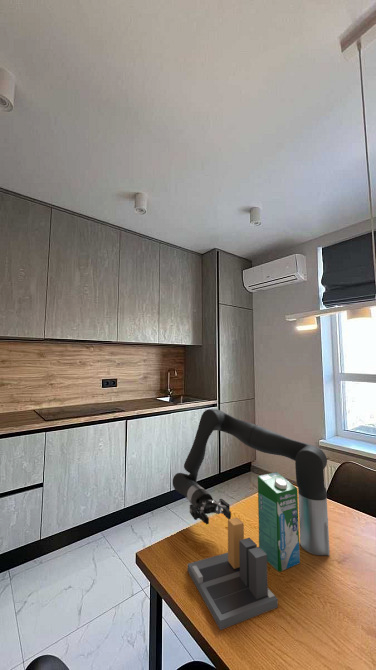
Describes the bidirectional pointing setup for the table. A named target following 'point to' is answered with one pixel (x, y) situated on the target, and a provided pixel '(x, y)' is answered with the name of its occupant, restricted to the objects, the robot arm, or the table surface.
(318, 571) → the table surface
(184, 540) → the table surface
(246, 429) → the robot arm
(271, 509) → the milk carton
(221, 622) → the grey slotted tray
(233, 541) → the tall tan rectangular block
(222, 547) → the table surface
